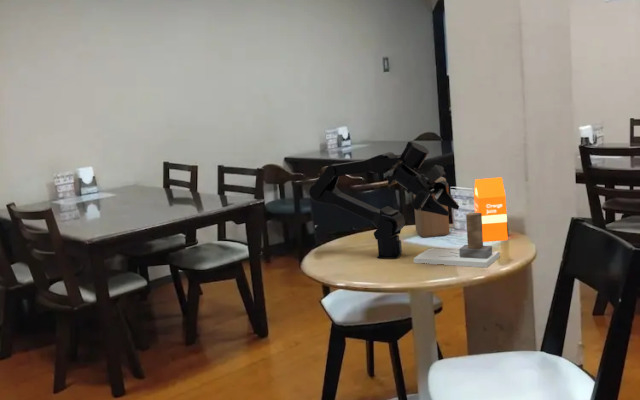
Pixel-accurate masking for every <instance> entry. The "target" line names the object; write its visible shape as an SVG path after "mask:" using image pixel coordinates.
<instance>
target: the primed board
mask: <svg viewBox="0 0 640 400" xmlns="http://www.w3.org/2000/svg"><path fill="white" fill-rule="evenodd" d="M499 258H500V251H496V250H495V251H493V250H492V255H491V256H490V257H488V258H487V259H480V258H464V257H460V253H459V249H456V248H455V249H453V248H452V249H451V248H450V249H449V248H447V249H446V248H433V247H431V248H428V249H426V250H424V251H423V252H421V253H420V254H418V255H417V256H415V257H414V258H413V263H414V264H421V263H425V264H424V265H437V264H444V265H443V266H454V265H455V266H456V267H457V266H459V267H473V268H488V267H490V265H492V264H493V263H494V262H495V261H496V260H498V259H499ZM426 263H427V264H426ZM428 263H429V264H428Z"/></svg>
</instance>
